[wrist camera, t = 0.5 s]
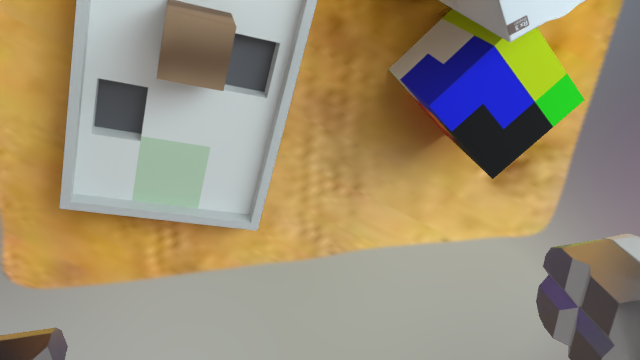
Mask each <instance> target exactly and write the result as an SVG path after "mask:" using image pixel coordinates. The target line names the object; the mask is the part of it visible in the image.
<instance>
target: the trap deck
mask: <svg viewBox="0 0 640 360" xmlns="http://www.w3.org/2000/svg"><path fill="white" fill-rule="evenodd" d="M167 1H168V0H77V1H76V14H75V26H74V38H73V50H72V62H71V75H70V87H69V99H68V111H67V123H66V136H65V148H64V160H63V172H62V184H61V197H60V209H68V210H77V211H86V212H95V213H104V214H113V215H122V216H131V217H140V218H149V219H158V220H167V221H176V222H185V223H194V224H203V225H211V226H220V227H229V228H238V229H247V230H256V231H257V230H258V227H259V223H260V219H261V215H262V211H263V207H264V203H265V200H266V196H267V192H268V188H269V184H270V180H271V177H272V173H273V169H274V165H275V161H276V157H277V153H278V150H279V146H280V142H281V138H282V134H283V130H284V126H285V123H286V119H287V115H288V111H289V107H290V103H291V100H292V96H293V92H294V88H295V84H296V80H297V76H298V73H299V69H300V65H301V61H302V57H303V53H304V49H305V46H306V42H307V38H308V34H309V30H310V26H311V23H312V19H313V15H314V11H315V7H316V3H317V0H177V1H181V2H185V3H190V4H194V5H198V6H202V7H207V8H211V9H215V10H220V11H224V12H228V13H231V14H232V17H233V19H234V22H235V25H236V32H235V37H234V42H233V47H232V52H231V57H230V61H229V66H228V71H227V76H226V81H225V86H224V91H219V90H214V89H209V88H203V87H198V86H193V85H187V84H182V83H177V82H172V81H166V80H161V79H156V78H157V70H158V62H159V55H160V48H161V42H162V35H163V28H164V21H165V15H166V8H167Z"/></svg>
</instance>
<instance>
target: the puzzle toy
mask: <svg viewBox="0 0 640 360" xmlns="http://www.w3.org/2000/svg"><path fill="white" fill-rule="evenodd" d="M388 70H389V71H390V72H391V73H392V74H393V75H394V76H395V77H396V79H397V80H398V81H399V82H400V83H401V84H402V85H403V86H404V88H405V89H406V90H407V91H408V92H409V93H410V94H411V96H412V97H413V98H414V99H415V100H416V101H417V102H418V103H419V105H420V106H421V107H422V108H423V109H424V110H425V111H426V112H427V114H428V115H429V116H430V117H431V118H432V119H433V120H434V122H435V123H436V124H437V125H438V126H439V127H440V128H441V129H442V131H443V132H444V133H445V134H446V135H447V136H448V137H449V138H450V139H451V140H452V141H453V142H454V143H455V144H456V145H458V146H459V147H460V148H461V149H462V150H463V151H464V152H465V153H466V154H467V155H468V156H469V157H470V158H471V159H472V160H473V161H474V162H475V163H476V164H478V165H479V166H480V167H481V168H482V169H483V170H484V171H485V172H486V173H487V174H488V175H489V176H490V177H491V178H492V179H493V178H494V177H496V176H497V175H498V174H499V173H500V172H501V171H503V170H504V169H505V168H506V167H507V166H508V165H510V164H511V163H512V162H513V161H514V160H515V159H516V158H518V157H519V156H520V155H521V154H522V153H523V152H525V151H526V150H527V149H528V148H529V147H530V146H532V145H533V144H534V143H535V142H536V141H537V140H539V139H540V138H541V137H542V136H543V135H544V134H546V133H547V132H548V131H549V130H550V129H551V128H552V127H554V126H555V125H556V124H557V123H558V122H559V121H561V120H562V119H563V118H564V117H565V116H566V115H568V114H569V113H570V112H571V111H572V110H573V109H575V108H576V107H577V106H578V105H579V104H580V103H582V102H583V101H584V98H583V97H582V95H581V94H580V92H579V91H578V89H577V88H576V86H575V85H574V83H573V82H572V80H571V79H570V77H569V76H568V74H567V73H566V71H565V69H564V68H563V66H562V65H561V63H560V62H559V60H558V59H557V57H556V56H555V54H554V53H553V51H552V50H551V48H550V47H549V45H548V44H547V42H546V41H545V39H544V37H543V36H542V34H541V33H540V31H539V30H538V28H537V27H536V28H535V29H533V30H531V31H529V32H527V33H526V34H524V35H522V36H521V37H519V38H517V39H515V40H514V41H512V42H508V41H506V40H505V39H503V38H501V37H500V36H498V35H496V34H495V33H493V32H491V31H490V30H488V29H486V28H485V27H483V26H481V25H480V24H478V23H476V22H474V21H473V20H471V19H469V18H467V17H466V16H464V15H462V14H461V13H459V12H457V11H456V10H454V9H451V10H450V11H449V12H448V13H447V14H446V15H445V16H444V17H443V18H442V19H441V20H440V21H438V22H437V23H436V24H435V25H434V26H433V27H432V28H431V29H430V30H429V31H428V32H427V33H426V34H425V35H424V36H423V37H422V38H421V39H419V40H418V41H417V42H416V43H415V44H414V45H413V46H412V47H411V48H410V49H409V50H408V51H407V52H406V53H405V54H404V55H403V56H402V57H400V58H399V59H398V60H397V61H396V62H395V63H394V64H393V65H392V66H391V67H390V68H389V69H388Z"/></svg>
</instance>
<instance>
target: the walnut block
mask: <svg viewBox="0 0 640 360" xmlns="http://www.w3.org/2000/svg"><path fill="white" fill-rule="evenodd" d="M235 32H236V25H235V22H234V19H233V17H232V14H231V13H228V12H224V11H220V10H215V9H211V8H207V7H202V6H198V5H194V4H190V3H185V2H181V1H177V0H168V1H167V8H166V15H165V21H164V28H163V35H162V42H161V48H160V55H159V62H158V70H157V78H156V79H161V80H166V81H172V82H177V83H182V84H187V85H193V86H198V87H203V88H209V89H214V90H219V91H224V86H225V81H226V76H227V71H228V66H229V61H230V57H231V52H232V47H233V42H234V37H235Z"/></svg>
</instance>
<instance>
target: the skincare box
mask: <svg viewBox="0 0 640 360" xmlns="http://www.w3.org/2000/svg"><path fill="white" fill-rule="evenodd" d="M439 1H440V2H442V3H444V4H445V5H447V6H449V7H451V8H452V9H454V10H456V11H457V12H459V13H461V14H462V15H464V16H466V17H467V18H469V19H471V20H473V21H474V22H476V23H478V24H480V25H481V26H483V27H485V28H486V29H488V30H490V31H491V32H493V33H495V34H496V35H498V36H500V37H501V38H503V39H505V40H506V41H508V42H512V41H514V40H515V39H517V38H519V37H521V36H522V35H524V34H526V33H527V32H529V31H531V30H533V29H535V28H536V27H538V26H540V25H542V24H544V23H546V22H547V21H550V20H554V19H558V18H560V17H562V16H564V15H566V14H568V13H569V12H570V11H571V10H572V9H574V8H575V7H576V6H577V5H578V4H580V3H582V2H584V1H586V0H439Z"/></svg>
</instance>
